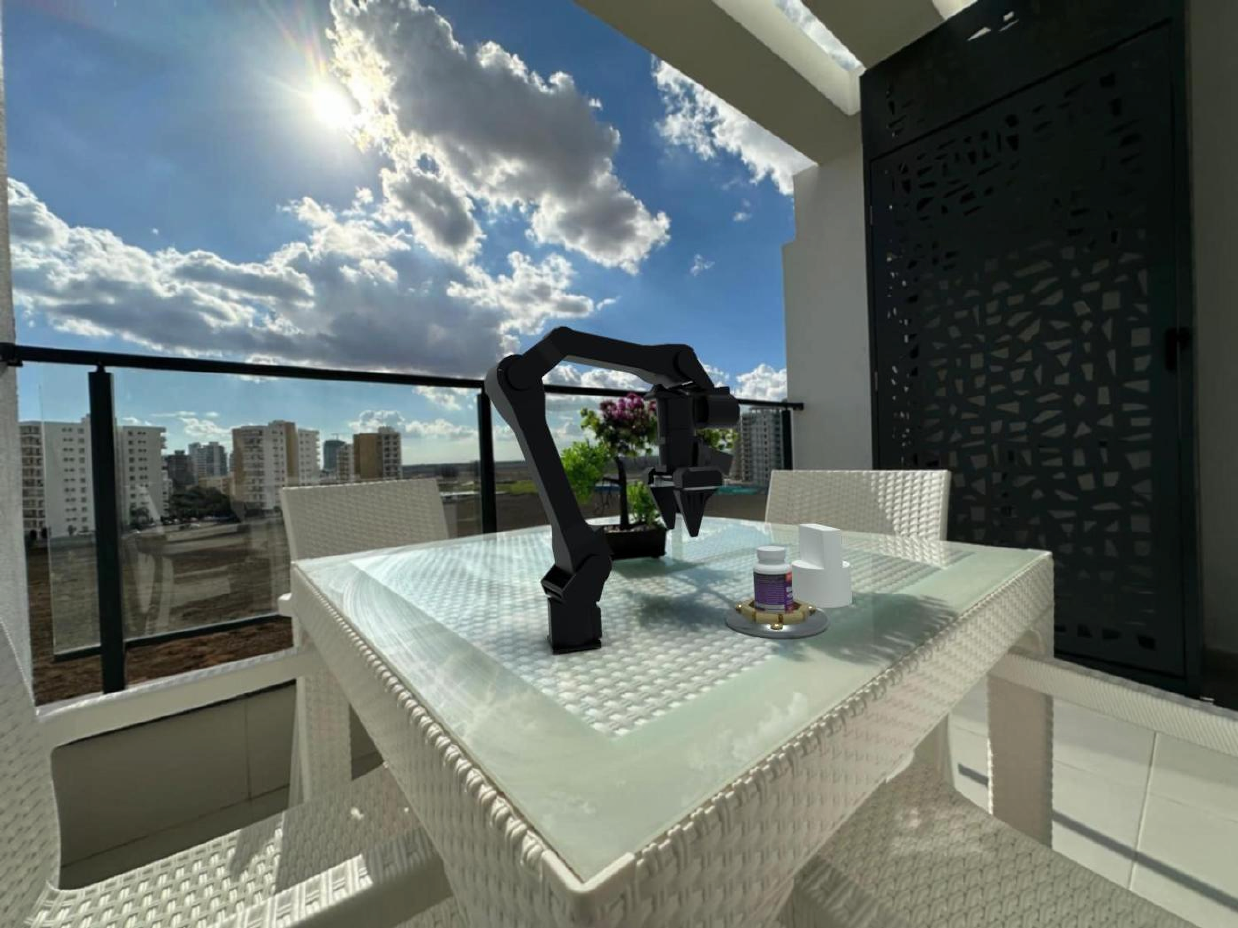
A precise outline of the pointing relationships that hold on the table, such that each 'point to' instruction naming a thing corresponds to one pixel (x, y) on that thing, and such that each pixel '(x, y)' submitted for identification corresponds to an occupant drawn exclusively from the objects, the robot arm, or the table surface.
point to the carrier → (777, 621)
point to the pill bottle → (772, 580)
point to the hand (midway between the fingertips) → (681, 533)
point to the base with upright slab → (821, 568)
